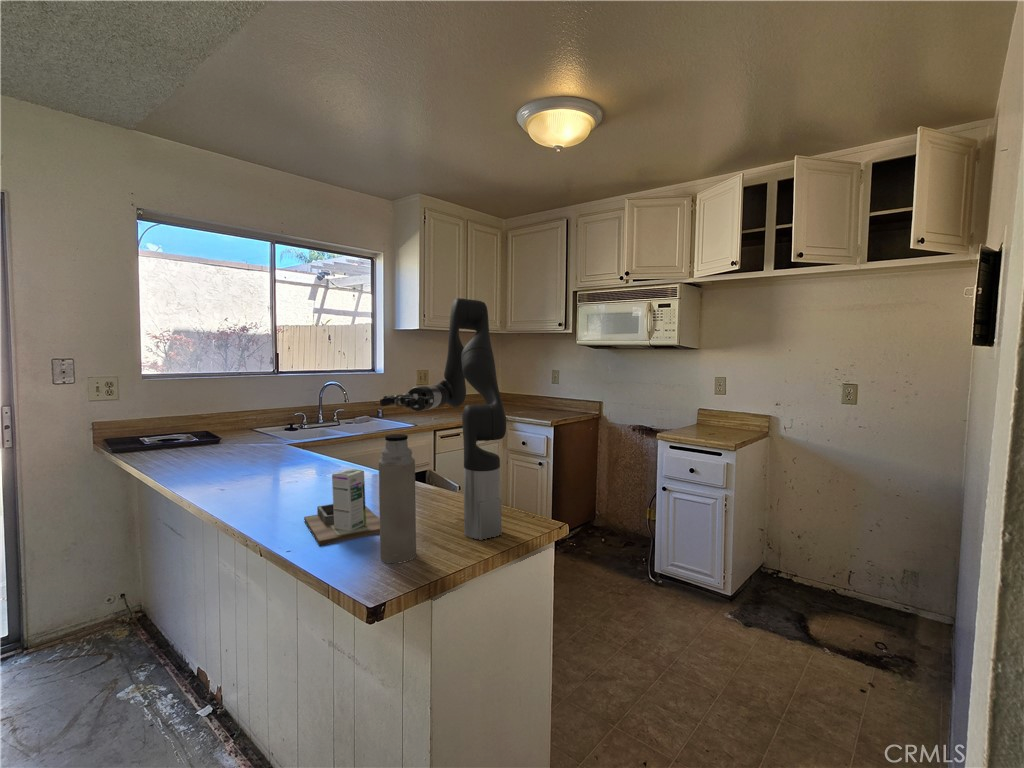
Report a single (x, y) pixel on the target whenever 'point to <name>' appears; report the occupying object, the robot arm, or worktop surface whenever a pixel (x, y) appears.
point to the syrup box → (349, 499)
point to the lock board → (328, 534)
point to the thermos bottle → (397, 500)
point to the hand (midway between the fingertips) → (393, 403)
